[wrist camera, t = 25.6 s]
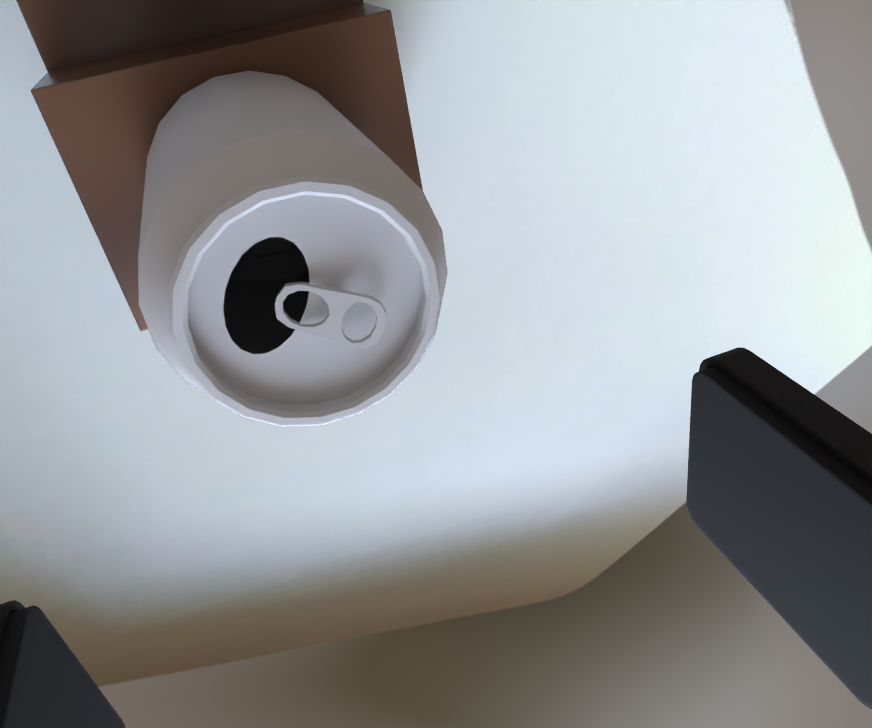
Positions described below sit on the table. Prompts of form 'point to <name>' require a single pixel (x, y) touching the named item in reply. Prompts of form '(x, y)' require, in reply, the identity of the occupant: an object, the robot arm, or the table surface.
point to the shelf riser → (188, 68)
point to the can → (284, 254)
